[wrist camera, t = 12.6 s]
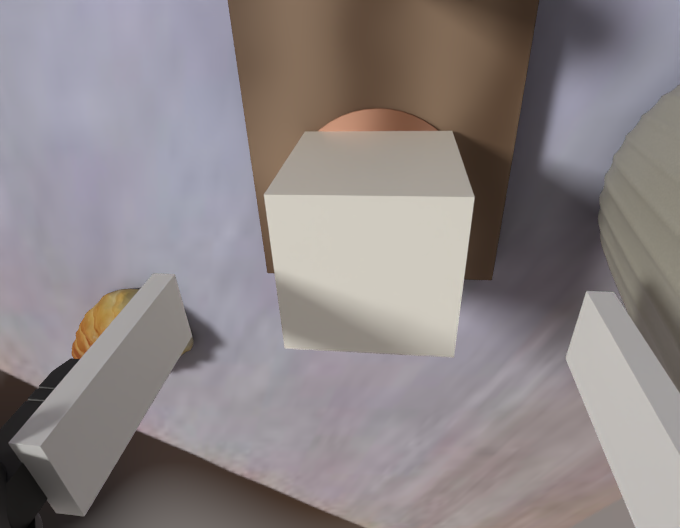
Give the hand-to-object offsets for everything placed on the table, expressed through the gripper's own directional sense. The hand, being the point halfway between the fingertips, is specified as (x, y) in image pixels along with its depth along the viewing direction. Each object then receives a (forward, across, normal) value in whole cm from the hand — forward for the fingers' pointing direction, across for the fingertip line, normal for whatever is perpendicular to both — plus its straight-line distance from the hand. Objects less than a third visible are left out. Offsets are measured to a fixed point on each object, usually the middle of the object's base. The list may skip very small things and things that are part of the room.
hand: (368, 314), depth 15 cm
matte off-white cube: (+10, 0, 0) cm, 10 cm away
